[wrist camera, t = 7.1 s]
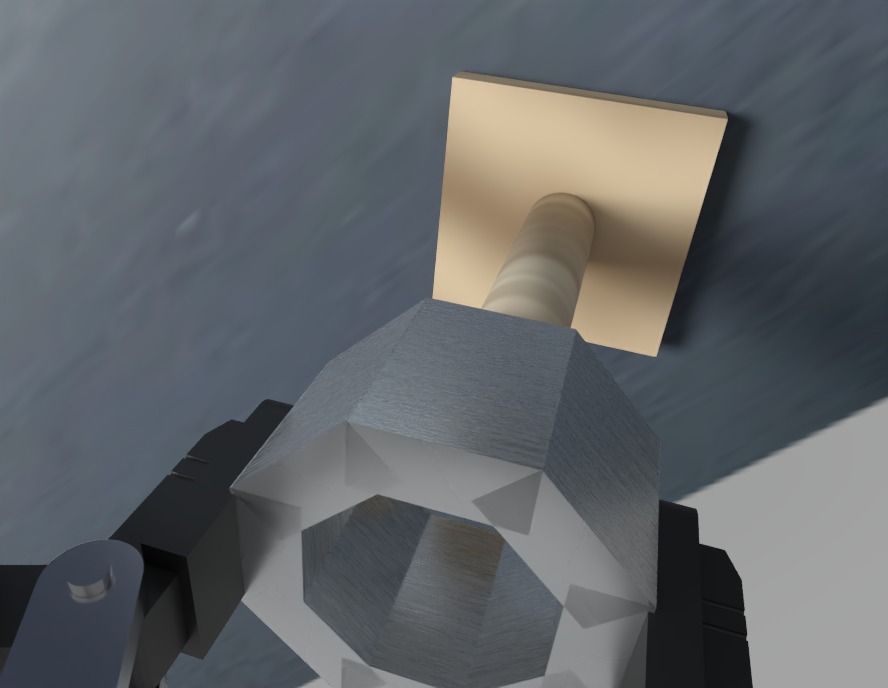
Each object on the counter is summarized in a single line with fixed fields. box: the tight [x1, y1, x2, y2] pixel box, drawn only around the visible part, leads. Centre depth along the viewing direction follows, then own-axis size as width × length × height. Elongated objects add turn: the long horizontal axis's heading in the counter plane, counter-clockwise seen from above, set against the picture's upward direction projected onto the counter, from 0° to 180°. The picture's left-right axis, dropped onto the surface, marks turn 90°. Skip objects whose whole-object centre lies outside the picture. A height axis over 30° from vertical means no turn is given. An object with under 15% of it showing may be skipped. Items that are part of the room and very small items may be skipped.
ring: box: [230, 297, 660, 688], centre depth 12 cm, size 6×6×4 cm
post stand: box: [433, 71, 728, 357], centre depth 18 cm, size 8×8×12 cm
